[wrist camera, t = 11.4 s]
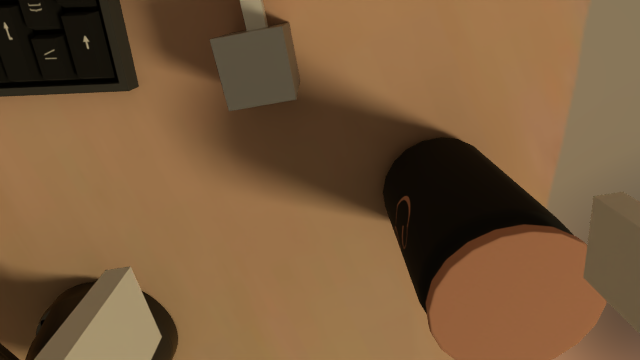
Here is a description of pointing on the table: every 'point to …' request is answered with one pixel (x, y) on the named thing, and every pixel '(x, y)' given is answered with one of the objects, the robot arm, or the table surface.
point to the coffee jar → (487, 257)
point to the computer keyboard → (64, 47)
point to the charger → (256, 61)
